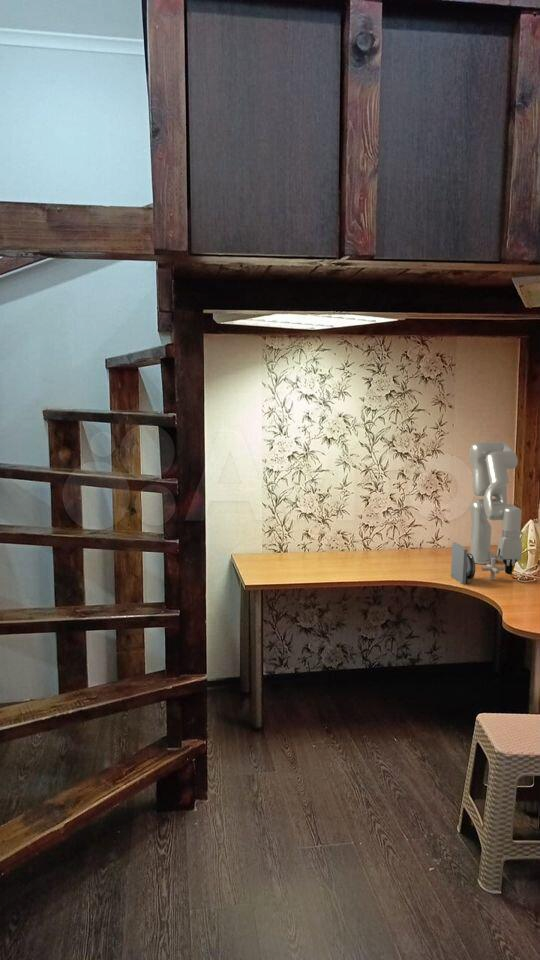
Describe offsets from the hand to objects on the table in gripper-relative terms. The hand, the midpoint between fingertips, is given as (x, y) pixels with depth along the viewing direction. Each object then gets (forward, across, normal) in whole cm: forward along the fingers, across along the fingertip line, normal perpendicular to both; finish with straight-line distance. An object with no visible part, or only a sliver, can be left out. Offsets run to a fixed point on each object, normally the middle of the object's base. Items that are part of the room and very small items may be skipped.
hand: (508, 573), depth 299 cm
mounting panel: (+3, +22, 0) cm, 22 cm away
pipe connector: (+3, +8, 0) cm, 8 cm away
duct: (+2, +21, 0) cm, 21 cm away
